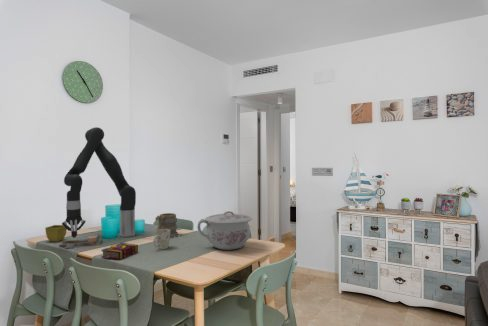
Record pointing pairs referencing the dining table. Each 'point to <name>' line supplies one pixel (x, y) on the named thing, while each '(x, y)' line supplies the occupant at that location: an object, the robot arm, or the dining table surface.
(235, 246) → the chamber pot
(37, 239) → the dining table surface
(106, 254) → the decorative book
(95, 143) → the robot arm
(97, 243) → the lane
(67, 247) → the trap pads
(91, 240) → the terracotta block
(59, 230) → the flower pot
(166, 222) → the tankard
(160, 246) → the mug
